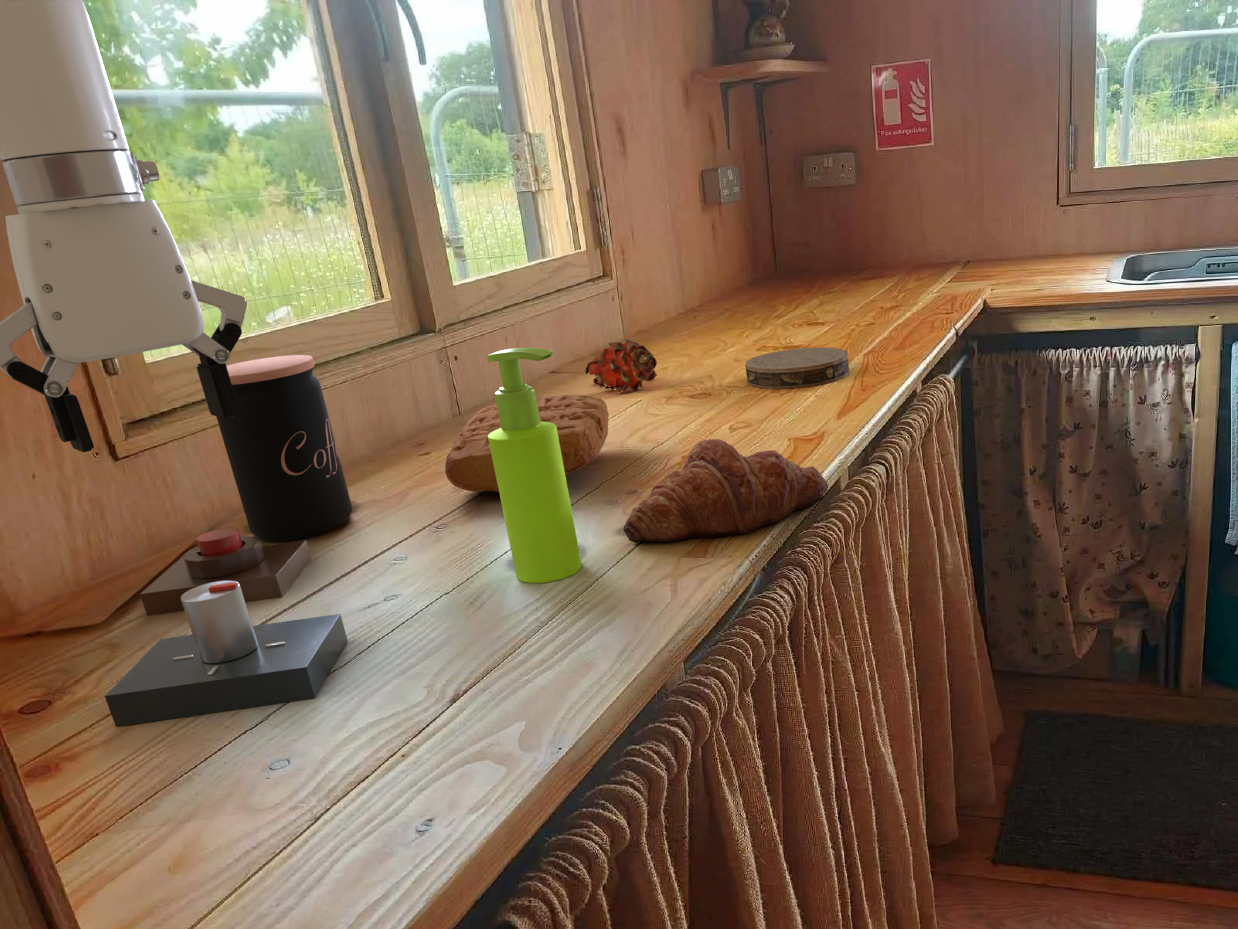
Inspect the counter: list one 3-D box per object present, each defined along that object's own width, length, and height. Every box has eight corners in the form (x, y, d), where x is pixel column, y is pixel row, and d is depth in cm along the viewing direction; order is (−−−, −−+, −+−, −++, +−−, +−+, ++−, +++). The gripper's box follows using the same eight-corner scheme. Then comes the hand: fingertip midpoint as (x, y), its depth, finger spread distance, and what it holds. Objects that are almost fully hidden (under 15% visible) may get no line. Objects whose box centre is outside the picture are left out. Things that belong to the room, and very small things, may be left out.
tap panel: (115, 726, 78) (103, 693, 77) (170, 666, 87) (160, 636, 86) (315, 697, 79) (305, 665, 78) (348, 641, 88) (340, 611, 87)
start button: (196, 561, 101) (190, 543, 100) (209, 548, 104) (204, 530, 103) (235, 555, 101) (230, 537, 100) (248, 542, 104) (243, 525, 104)
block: (147, 616, 99) (133, 575, 97) (188, 577, 108) (176, 539, 106) (282, 597, 100) (270, 556, 98) (312, 560, 109) (301, 522, 107)
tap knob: (192, 666, 80) (170, 600, 78) (211, 644, 84) (191, 580, 82) (248, 658, 80) (227, 592, 78) (265, 637, 84) (245, 573, 82)
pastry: (700, 490, 117) (690, 417, 114) (834, 493, 111) (827, 417, 108) (622, 545, 103) (609, 464, 100) (771, 552, 97) (761, 466, 94)
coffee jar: (309, 546, 113) (262, 374, 107) (230, 544, 117) (179, 378, 110) (375, 512, 122) (335, 352, 116) (299, 512, 126) (256, 356, 119)
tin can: (726, 384, 170) (724, 364, 168) (799, 363, 179) (797, 345, 178) (796, 392, 158) (795, 372, 157) (870, 370, 168) (869, 350, 167)
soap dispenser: (570, 585, 95) (528, 355, 88) (504, 581, 97) (456, 358, 90) (603, 560, 100) (565, 341, 93) (538, 558, 102) (496, 344, 95)
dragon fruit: (666, 398, 172) (597, 413, 175) (669, 358, 176) (602, 374, 180) (643, 362, 165) (572, 378, 168) (648, 322, 169) (579, 338, 173)
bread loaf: (493, 458, 141) (480, 397, 138) (623, 445, 140) (614, 383, 137) (440, 511, 120) (425, 441, 117) (593, 497, 119) (581, 426, 116)
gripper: (190, 176, 82) (254, 401, 88) (-87, 202, 71) (9, 457, 77) (227, 170, 76) (292, 409, 83) (-66, 197, 66) (35, 470, 72)
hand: (155, 432), depth 80 cm, fingers open, 9 cm apart
